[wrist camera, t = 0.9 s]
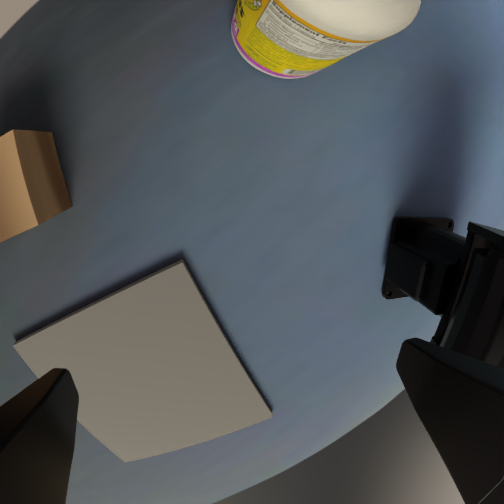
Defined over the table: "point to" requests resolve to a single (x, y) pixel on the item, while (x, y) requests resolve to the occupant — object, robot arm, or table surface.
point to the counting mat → (150, 367)
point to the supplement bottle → (313, 31)
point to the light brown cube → (29, 181)
